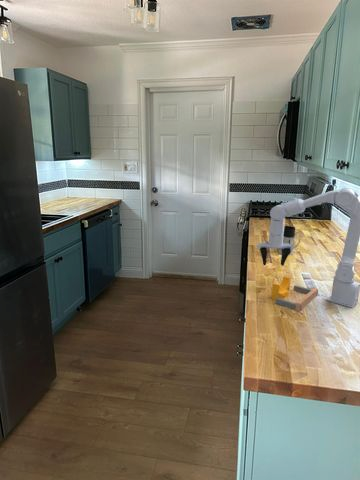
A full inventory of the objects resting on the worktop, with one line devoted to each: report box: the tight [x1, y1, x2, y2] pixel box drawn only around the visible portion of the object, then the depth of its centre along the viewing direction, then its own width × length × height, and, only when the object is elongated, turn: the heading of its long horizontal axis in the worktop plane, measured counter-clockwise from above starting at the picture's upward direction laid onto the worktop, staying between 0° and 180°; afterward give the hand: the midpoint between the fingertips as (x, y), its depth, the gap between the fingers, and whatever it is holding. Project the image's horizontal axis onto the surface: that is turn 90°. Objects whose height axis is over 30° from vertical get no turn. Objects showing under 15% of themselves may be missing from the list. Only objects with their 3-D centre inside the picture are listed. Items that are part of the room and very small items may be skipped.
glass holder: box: [277, 225, 302, 256], centre depth 191 cm, size 9×14×15 cm, turn 26°
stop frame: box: [275, 284, 319, 312], centre depth 134 cm, size 10×19×3 cm, turn 139°
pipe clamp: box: [271, 275, 292, 301], centre depth 137 cm, size 12×4×6 cm, turn 141°
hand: (273, 264), depth 144 cm, fingers open, 7 cm apart
